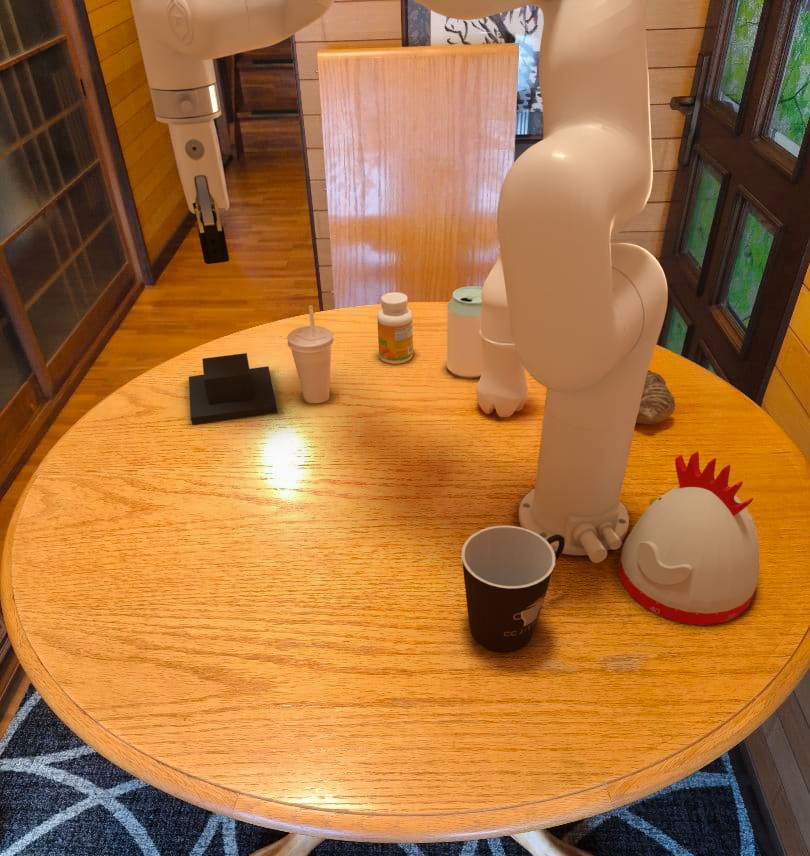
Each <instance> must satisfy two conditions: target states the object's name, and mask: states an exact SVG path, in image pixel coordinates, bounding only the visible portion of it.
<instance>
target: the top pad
mask: <svg viewBox="0 0 810 856" xmlns="http://www.w3.org/2000/svg"><path fill="white" fill-rule="evenodd" d="M201 361H202V372H203V373H202V375H204V382H205V387H206V392H207V396H208V401H209V404H217V403H224V402H231V401H239V400H247V399H254V393H253V387H252V381H251V375H250V369H251V368H250V364H249V359H248V353H247V352H243V353H236V354H229V355H219V356H213V357H212V356H211V357H205V358H204V357H203V358H202V360H201Z"/></svg>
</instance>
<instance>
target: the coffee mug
mask: <svg viewBox="0 0 810 856" xmlns="http://www.w3.org/2000/svg"><path fill="white" fill-rule="evenodd" d="M555 541H559V546H558V549H557V551H556V552H555V551H554V550H553V548H552V547H551V545H550V544H551V543H553V542H555ZM564 546H565V539H564V537H562V536H561V535H553V536H551V537H549V538H548V539H547V540H545V539H544V538H543V537H542V536H540V535H538V534H537V533H535V532H533V531H530V530H528V529H525V528H521V526H516V525H495V526H489V527H486V528H483V529H480V530H478V531H476V532H475V533H473V534H472V535H470V536H469V537H468V538H467V539H466V540H465V542H464V544H463V546H462V549H461V562H462V563H461V564H462V572H463V578H464V579H463V580H464V581H463V582H464V589H465V590H464V591H465V598H466V609H467V616H468V617H467V618H468V625H469V626H468V627H469V633H470V635H471V638H472V639H473V641H474V642H475V643H477V645H479V646H480V647H481V648H483V649H485V650H487V651H490V652H493V653H499V654H511V653H514V652H518V651H520V650H522V649H523V648H525V647H527V645H528V644H529V643H530V642H531V640H532V639H533V635H534V633H535V629H536V626H537V623H538V620H539V616H540V613H541V610H542V607H543V604H544V601H545V598H546V595H547V592H548V588H549V586H550V582H551V579H552V576H553V573H554V570H555V566H556V563H557V562H558V560H559V559H560V557H561V556H562V552H563V549H564Z"/></svg>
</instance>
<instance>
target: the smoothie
mask: <svg viewBox="0 0 810 856" xmlns="http://www.w3.org/2000/svg"><path fill="white" fill-rule="evenodd" d="M308 312H309V313H308V314H309V322H310V325H305V326H301V327H298V328H295V329H293V330H292V331H290V332H289V333H288V334H287V339H286V340H287V347H289V349H290V350H291V353H292V354H291V355H292V357H293V361H294V365H295V369H296V373H297V377H298V380H299V385H300V388H301V392H302V396H303V399H304V401H305V402H307V403H309V404H321V403H324V402H326V401H328V400H329V399H330V387H331V386H330V385H331V364H332V363H331V361H332V357H331V356H332V345H333V344H334V341H335V340H334V334H333V332H332V330H330V329H328V328H326V327H324V326H319V325H315V324H316V323H315V315H314V314H315V313H314V305H312V304H309V305H308Z"/></svg>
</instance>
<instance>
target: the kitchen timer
mask: <svg viewBox="0 0 810 856" xmlns="http://www.w3.org/2000/svg"><path fill="white" fill-rule="evenodd" d="M674 464H675V465H674V466H675V471H676V476H677V481H678V485H679V486H676V487H673V488H671V489H670V490H668V491H667V492H665V493H664V494H662V495H659V496H655V497H653V498H651V499H650V500H649V506H648V507H646V509H645V510H644V512H643V513H642V515H640V517H639V519H638V520H637V521H636V523H635V524H634V526H633V528H632V529H631V531H630V533H628V535H627V537H626V539H625V541H624V543H623V544H622V548H621V551H620V557H619V562H618V570H617V573H618V575H619V579H620V581H621V585H622V587H623V588H624V589H625V590H626V592H627V593H628V594H629V596H630V597H631V598H632V599H633V600H634V601H635V602H637V603H638V604H639V605H641V606H642V607H643V608H644V609H646V610H648V611H650V612H652V613H654V614H655V615H658V616H659V617H662V618H663V619H668V620H670V621H674V622H677V623H682V624H688V625H700V626H708V625H715V624H722V623H725V622H728V621H730V620H732V619H735V618H737V617H739V616H740V615H741V614H742V613H743V612H744V611H745V610H746V609H747V608H749V605H750V603H751V601H752V598H753V596H754V593H755V591H756V588H757V586H758V583H759V579H760V550H759V549H760V547H759V537H758V531H757V528H756V524H755V522H754V521H755V519H754V516H753V515H751V514H750V512H749V511H748V509H747V507H748V506H749V505H750V504H751V503H752V502H753V501H754V498H753V497H751V498H748V499H747V500H746V501H742V500H741V499H740V498H739V497H738V496H737V493H738V491H739V490H740V489H741V488H742V486H743V483H744V481H742V480H740V481H738V482H737V483H735V484H734V485H732V486H729V478H730V472H731V464H727V465H726V466H724V467H723V468H722V469H721V471H720V472H719V474H717V476H716V478H715V473H716V472H715V470H716V464H717V457H714V458H713V459H711V460H709V462H708V463H707V464H706V466H705V467H704V469H703V471H702V472H701V467H700V454H699V451H698V450H696V451H695V452H693V453H692V454H691V455H690V457H689V458H688V463H687V465H686V461H685V460H684V457H683V455H682V454H680V455H678V456H677V457H676V458H675V459H674Z"/></svg>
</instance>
